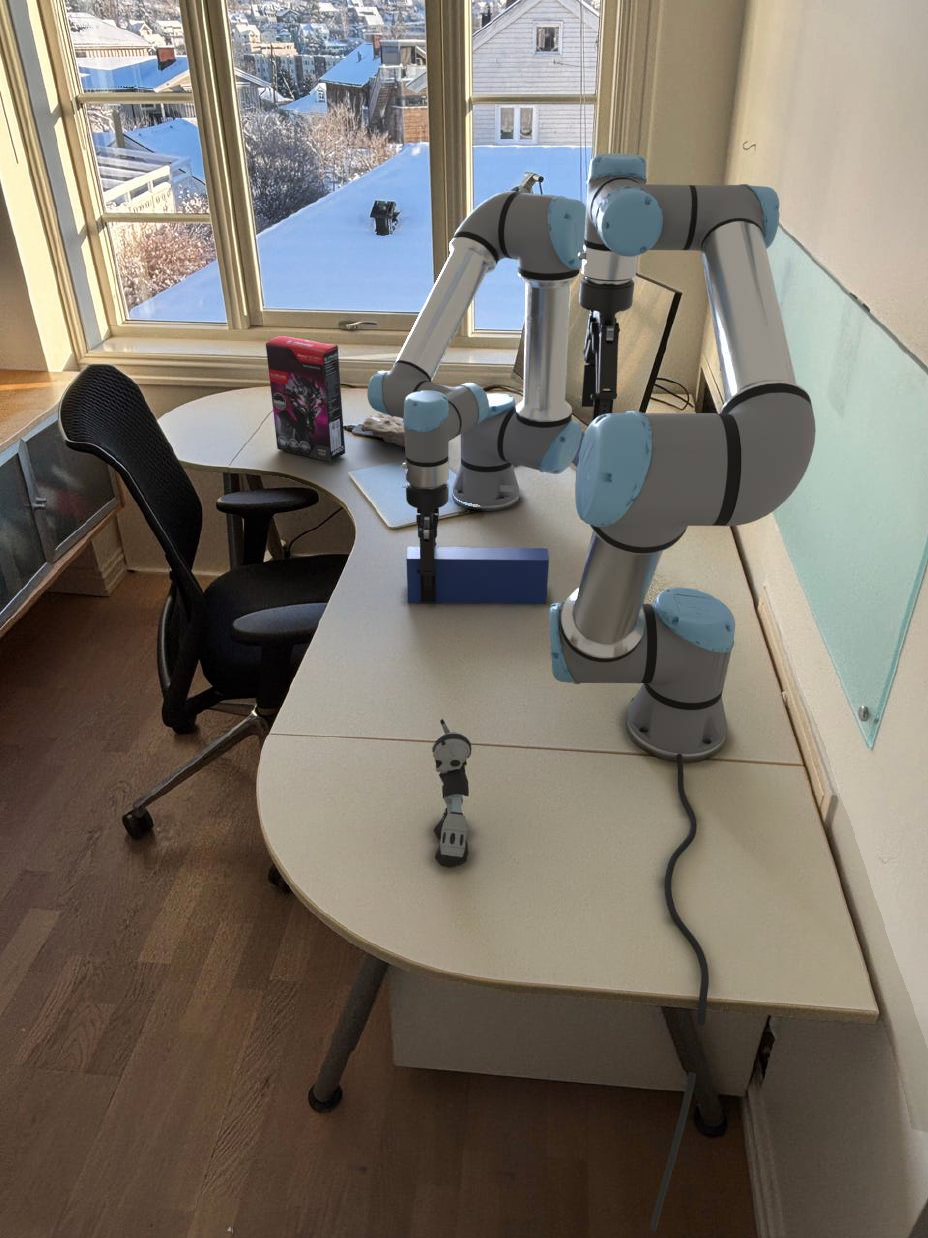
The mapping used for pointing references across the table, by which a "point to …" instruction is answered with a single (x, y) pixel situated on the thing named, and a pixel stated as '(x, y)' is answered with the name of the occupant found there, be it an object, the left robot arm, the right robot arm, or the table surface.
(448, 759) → the robot
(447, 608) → the table surface
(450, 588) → the bar
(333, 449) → the graphics card box
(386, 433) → the stone
